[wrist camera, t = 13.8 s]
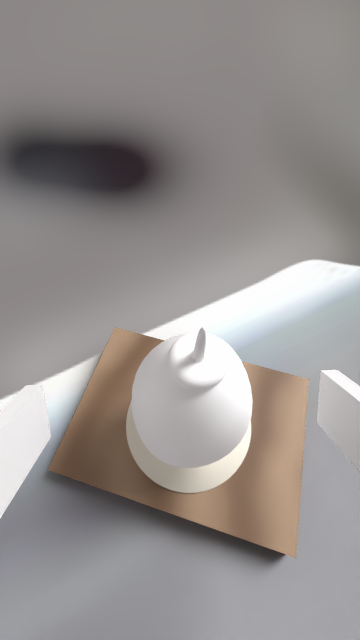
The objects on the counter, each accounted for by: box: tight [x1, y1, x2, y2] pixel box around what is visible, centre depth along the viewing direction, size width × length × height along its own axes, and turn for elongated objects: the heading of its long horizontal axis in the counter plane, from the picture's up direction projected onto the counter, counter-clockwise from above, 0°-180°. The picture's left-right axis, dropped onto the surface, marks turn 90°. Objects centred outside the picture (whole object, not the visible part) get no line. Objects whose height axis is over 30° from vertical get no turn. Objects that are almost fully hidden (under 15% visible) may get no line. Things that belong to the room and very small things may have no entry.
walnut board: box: [48, 328, 309, 558], centre depth 27 cm, size 20×14×2 cm
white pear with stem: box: [131, 327, 253, 468], centre depth 18 cm, size 8×8×18 cm
